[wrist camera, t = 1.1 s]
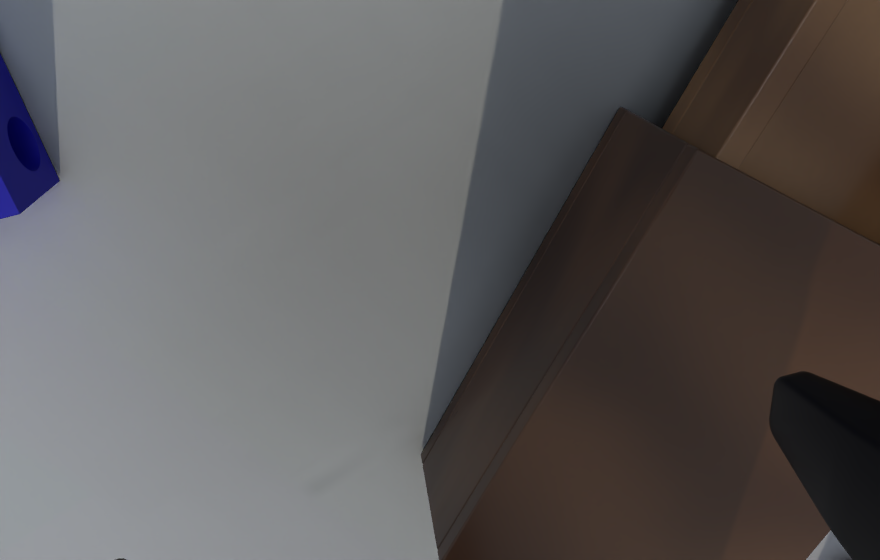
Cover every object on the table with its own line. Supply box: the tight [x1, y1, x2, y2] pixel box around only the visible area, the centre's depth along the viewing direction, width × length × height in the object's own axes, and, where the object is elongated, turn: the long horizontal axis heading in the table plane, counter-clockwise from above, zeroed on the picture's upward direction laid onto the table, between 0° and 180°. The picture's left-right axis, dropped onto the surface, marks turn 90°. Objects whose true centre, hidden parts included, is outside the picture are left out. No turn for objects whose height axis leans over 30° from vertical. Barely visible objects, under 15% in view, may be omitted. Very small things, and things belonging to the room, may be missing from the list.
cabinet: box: [421, 107, 880, 560], centre depth 24 cm, size 14×12×5 cm
